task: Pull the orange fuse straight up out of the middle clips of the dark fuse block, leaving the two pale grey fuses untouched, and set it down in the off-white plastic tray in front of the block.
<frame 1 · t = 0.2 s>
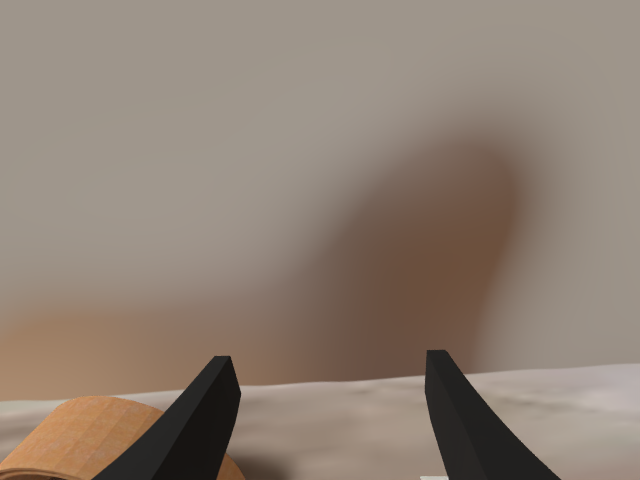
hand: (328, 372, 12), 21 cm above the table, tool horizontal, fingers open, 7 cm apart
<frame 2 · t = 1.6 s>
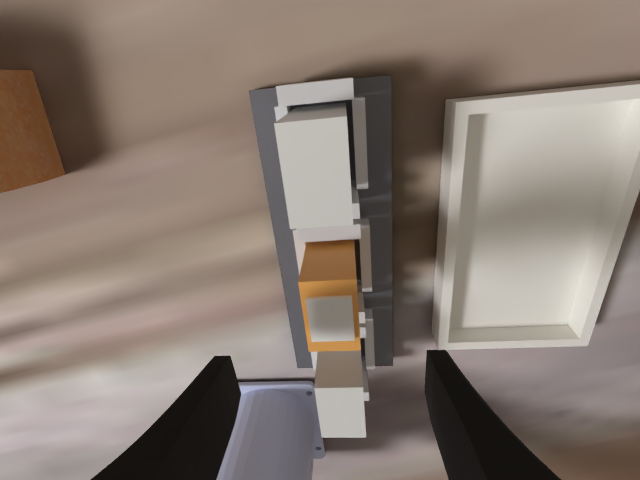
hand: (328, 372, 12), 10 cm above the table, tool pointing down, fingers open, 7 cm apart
fuse grey b: (324, 145, 18), point 1 cm above the table, touching fuse block
tray: (517, 229, 20), on the table
fuse grey a: (341, 335, 23), point 1 cm above the table, touching fuse block
fuse block: (334, 247, 21), on the table
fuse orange: (334, 253, 20), point 1 cm above the table, touching fuse block
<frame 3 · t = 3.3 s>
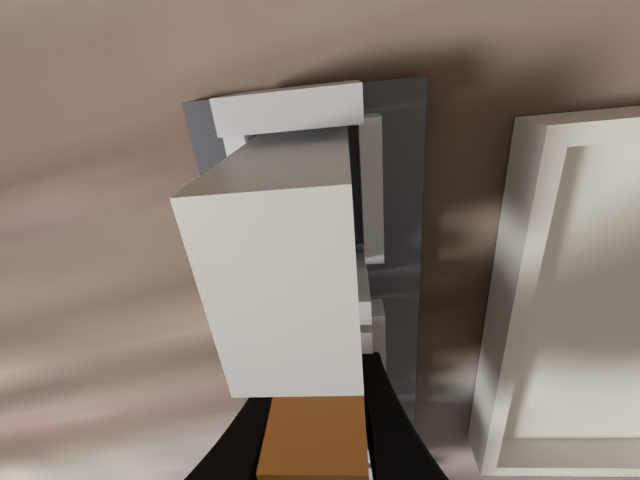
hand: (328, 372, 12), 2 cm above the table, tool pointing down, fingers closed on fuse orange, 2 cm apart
fuse grey b: (311, 191, 11), point 1 cm above the table, touching fuse block
tray: (609, 312, 13), on the table
fuse block: (330, 331, 14), on the table
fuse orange: (329, 345, 14), point 1 cm above the table, touching fuse block, gripper
when the fingers open (3 cm above the table, at t = 6.3 s): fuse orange stays where it is, resting on tray.
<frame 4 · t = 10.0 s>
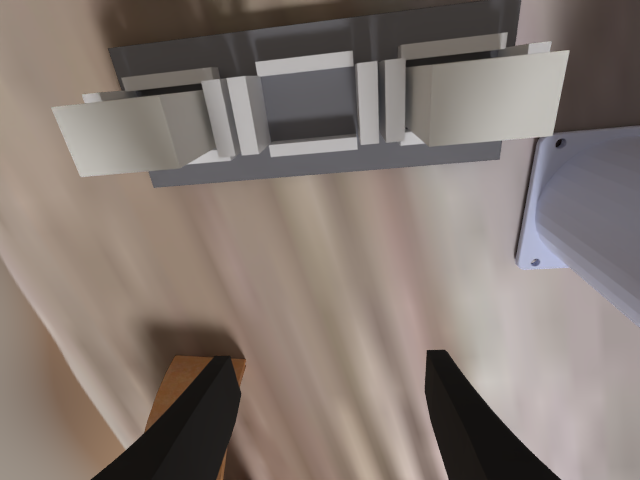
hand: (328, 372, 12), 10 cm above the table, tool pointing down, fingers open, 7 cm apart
fuse grey b: (186, 118, 17), point 1 cm above the table, touching fuse block
arch: (225, 433, 31), on the table
fuse grey a: (444, 92, 16), point 1 cm above the table, touching fuse block
fuse block: (311, 104, 17), on the table
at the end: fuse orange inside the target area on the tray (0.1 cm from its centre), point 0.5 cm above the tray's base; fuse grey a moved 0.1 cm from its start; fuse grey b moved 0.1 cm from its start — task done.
